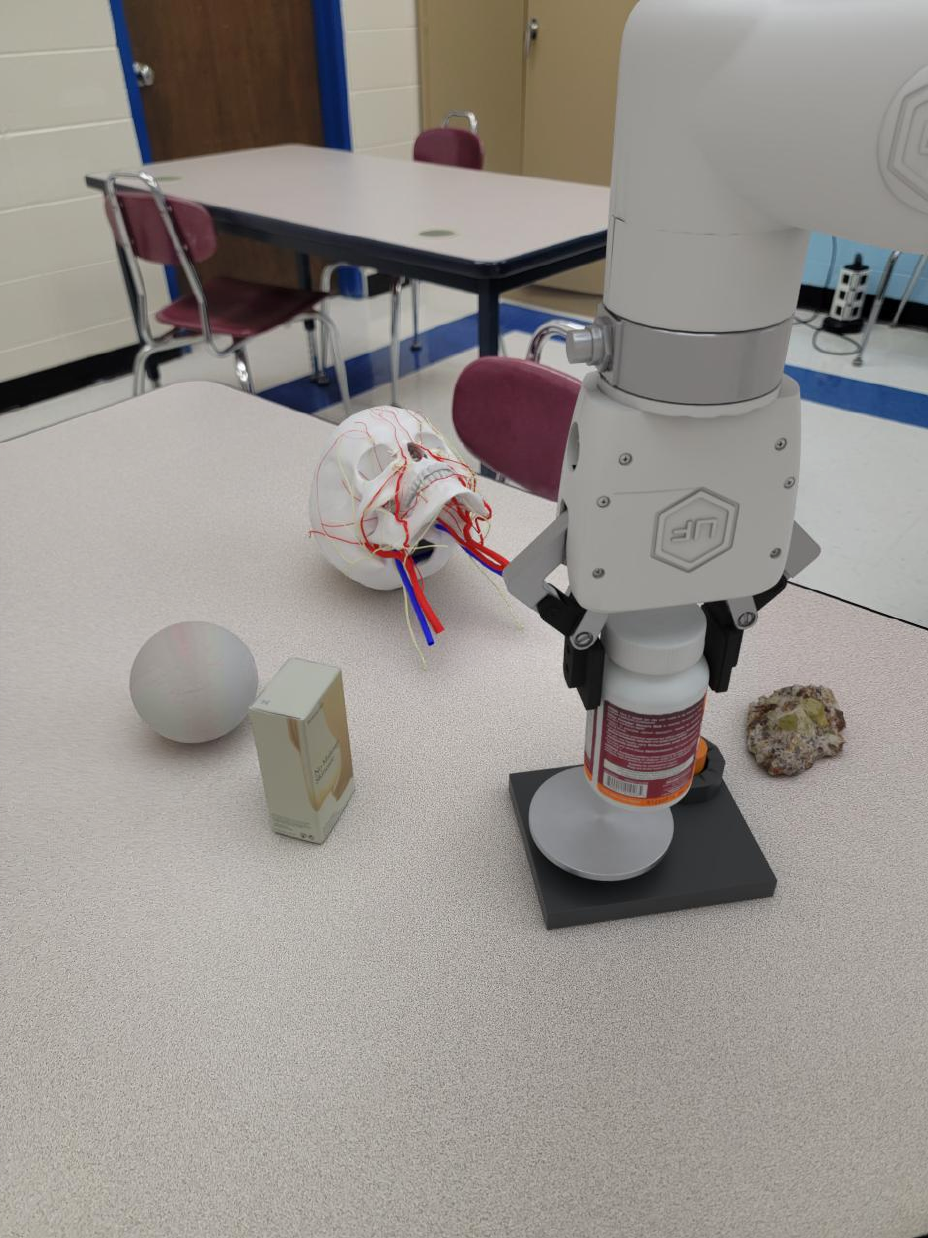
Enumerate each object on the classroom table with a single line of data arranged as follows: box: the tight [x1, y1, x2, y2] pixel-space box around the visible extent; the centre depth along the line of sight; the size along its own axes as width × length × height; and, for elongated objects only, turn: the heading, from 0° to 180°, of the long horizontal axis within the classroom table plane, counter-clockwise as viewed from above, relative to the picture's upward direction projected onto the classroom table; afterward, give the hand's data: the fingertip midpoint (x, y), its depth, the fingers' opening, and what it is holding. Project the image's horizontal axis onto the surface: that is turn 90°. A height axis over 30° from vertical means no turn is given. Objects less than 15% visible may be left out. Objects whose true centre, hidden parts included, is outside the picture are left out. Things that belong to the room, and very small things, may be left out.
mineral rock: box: [745, 683, 847, 777], centre depth 74 cm, size 11×4×8 cm
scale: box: [508, 734, 778, 931], centre depth 66 cm, size 16×14×4 cm
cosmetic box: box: [248, 656, 356, 845], centre depth 66 cm, size 6×4×12 cm
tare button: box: [693, 737, 707, 775], centre depth 68 cm, size 3×3×2 cm
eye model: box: [129, 620, 259, 744], centre depth 74 cm, size 10×10×10 cm
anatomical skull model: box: [308, 405, 525, 672], centre depth 87 cm, size 16×19×25 cm
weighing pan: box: [529, 766, 674, 881], centre depth 63 cm, size 10×10×1 cm
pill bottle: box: [583, 603, 709, 812], centre depth 48 cm, size 6×6×11 cm
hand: (647, 682), depth 48 cm, fingers closed on pill bottle, 6 cm apart
